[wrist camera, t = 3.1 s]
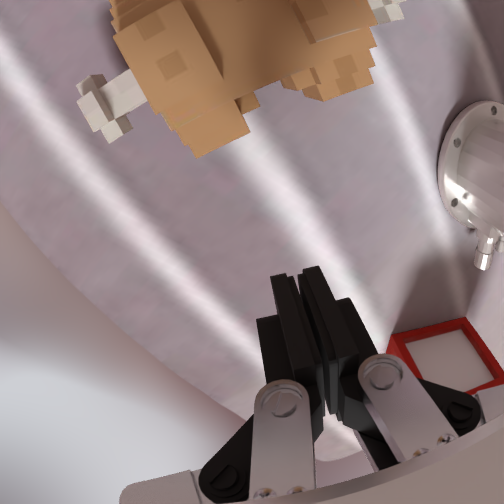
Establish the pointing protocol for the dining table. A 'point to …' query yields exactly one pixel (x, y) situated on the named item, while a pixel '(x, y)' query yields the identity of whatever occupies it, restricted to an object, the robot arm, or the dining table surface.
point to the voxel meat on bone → (229, 60)
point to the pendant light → (448, 356)
